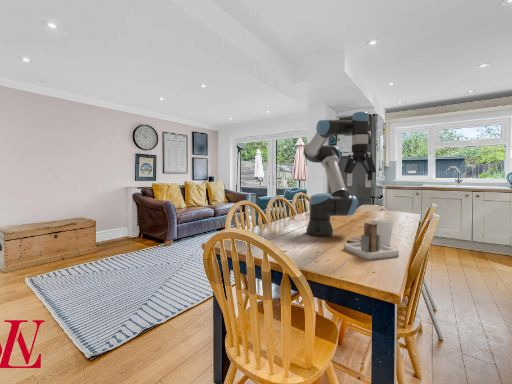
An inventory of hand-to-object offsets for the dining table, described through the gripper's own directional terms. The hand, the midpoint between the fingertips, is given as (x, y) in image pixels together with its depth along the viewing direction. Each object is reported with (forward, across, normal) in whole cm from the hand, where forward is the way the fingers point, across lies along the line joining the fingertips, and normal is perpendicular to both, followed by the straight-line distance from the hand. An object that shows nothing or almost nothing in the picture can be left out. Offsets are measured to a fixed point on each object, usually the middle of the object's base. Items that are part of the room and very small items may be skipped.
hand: (358, 186), depth 132 cm
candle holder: (+29, +6, +10) cm, 31 cm away
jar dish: (+29, +16, -6) cm, 33 cm away
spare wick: (+29, +1, -1) cm, 29 cm away
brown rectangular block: (+27, +16, -6) cm, 32 cm away
